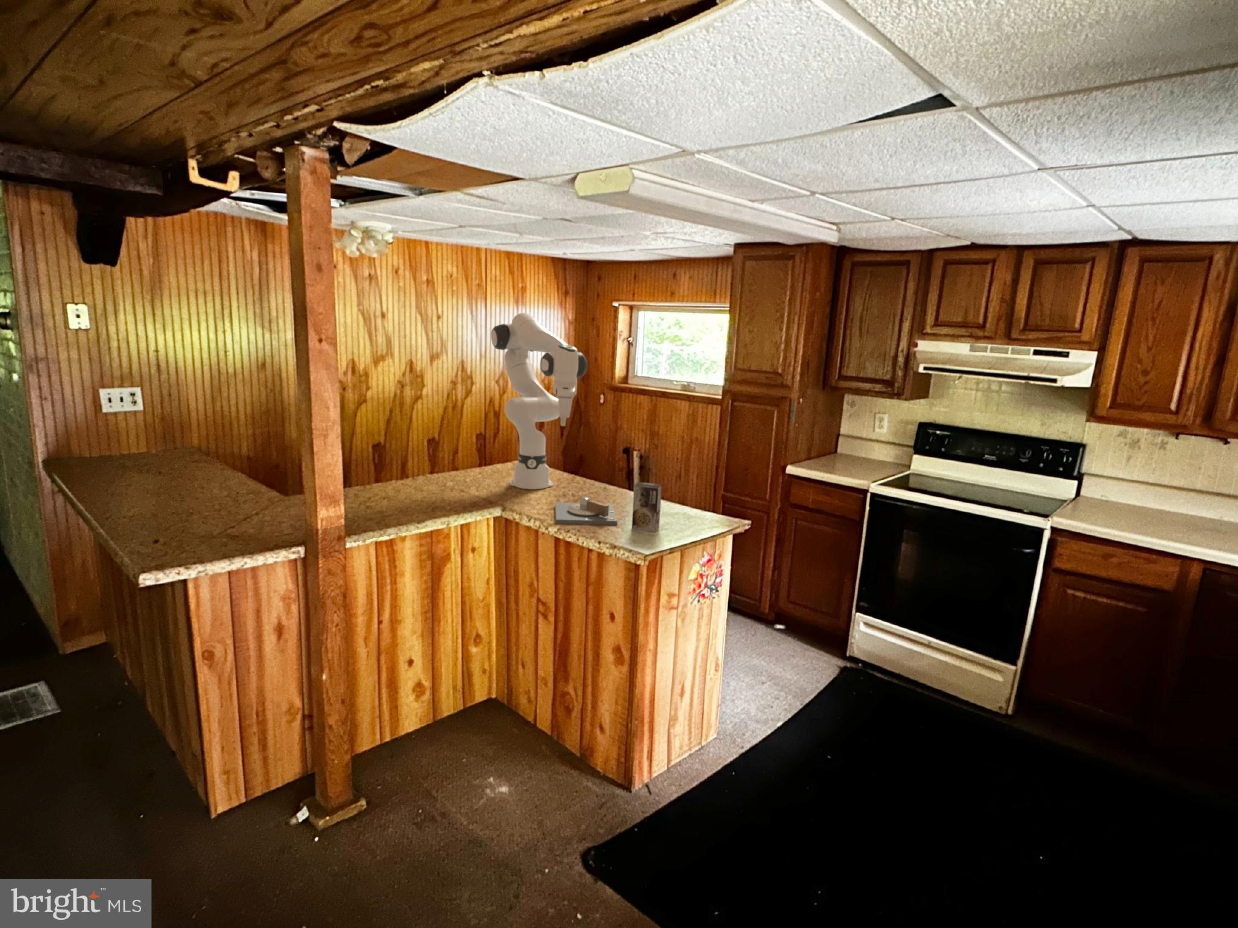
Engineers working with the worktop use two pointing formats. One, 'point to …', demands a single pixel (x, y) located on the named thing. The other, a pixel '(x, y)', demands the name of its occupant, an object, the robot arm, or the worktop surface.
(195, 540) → the worktop surface
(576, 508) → the dial
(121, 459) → the worktop surface
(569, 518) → the dial plate
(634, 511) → the coffee box
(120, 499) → the worktop surface
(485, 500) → the worktop surface
